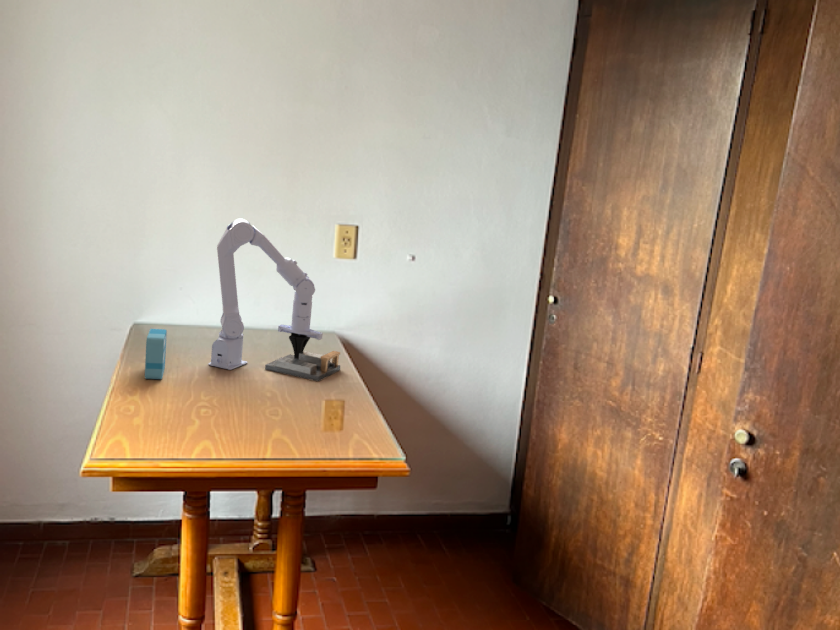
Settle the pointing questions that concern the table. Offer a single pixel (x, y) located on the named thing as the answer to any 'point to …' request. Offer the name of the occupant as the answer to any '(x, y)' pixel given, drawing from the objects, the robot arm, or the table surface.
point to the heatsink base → (306, 366)
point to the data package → (155, 353)
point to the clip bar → (311, 358)
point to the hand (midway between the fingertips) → (297, 357)
